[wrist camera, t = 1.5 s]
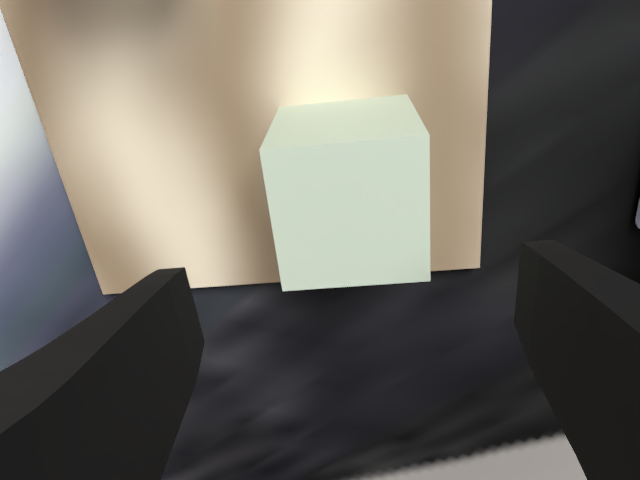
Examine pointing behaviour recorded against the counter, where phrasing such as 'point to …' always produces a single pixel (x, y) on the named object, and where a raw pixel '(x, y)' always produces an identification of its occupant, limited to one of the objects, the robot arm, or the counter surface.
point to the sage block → (349, 193)
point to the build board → (238, 116)
